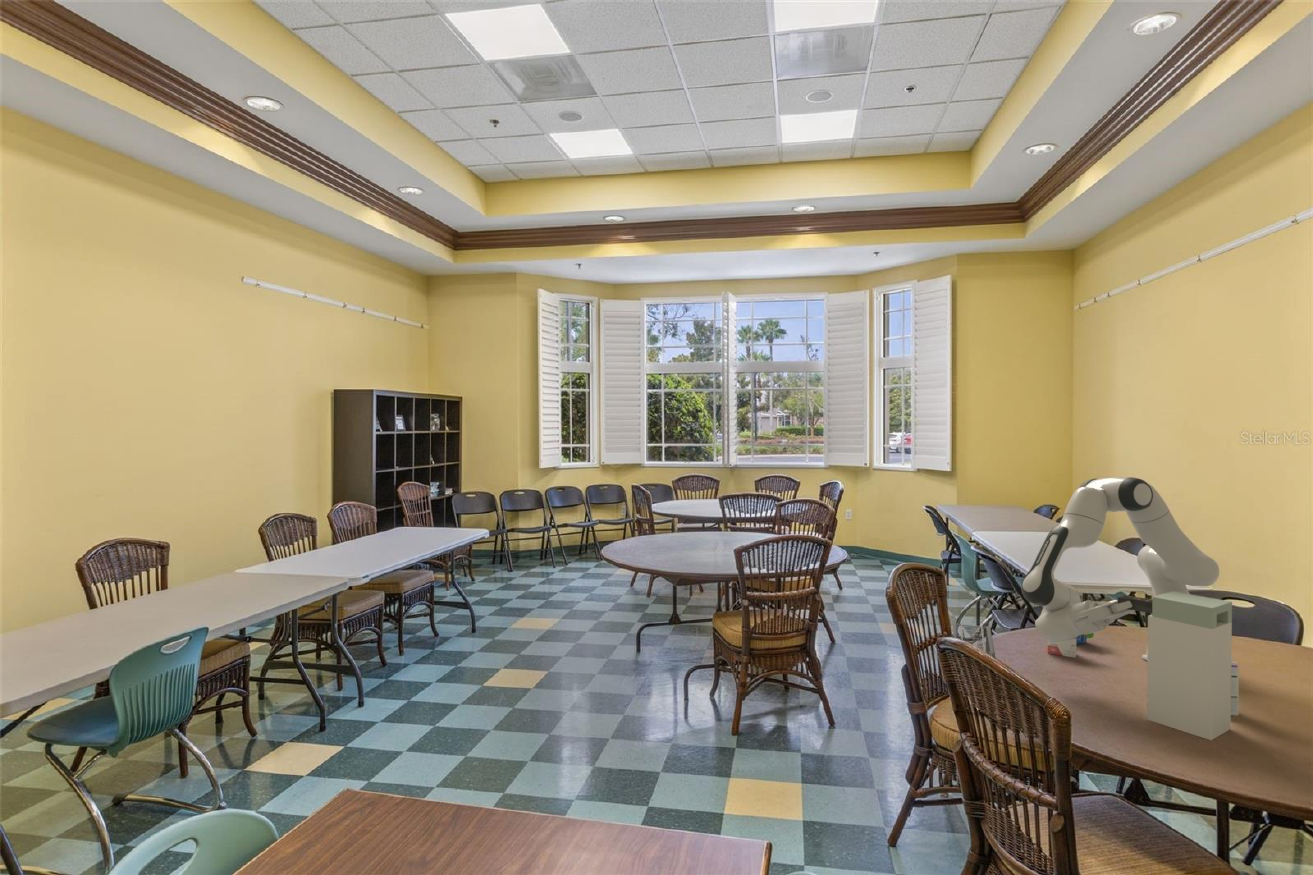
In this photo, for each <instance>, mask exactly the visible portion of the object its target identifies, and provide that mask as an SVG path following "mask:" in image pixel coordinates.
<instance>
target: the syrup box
mask: <svg viewBox="0 0 1313 875" xmlns="http://www.w3.org/2000/svg"><path fill="white" fill-rule="evenodd" d="M1239 675H1240V673H1239V663H1238V662H1236V661H1235V660H1232V659H1231V716H1239V715H1240V711H1239V710H1240V709H1239V708H1240V707H1239V705H1240V704H1239V703H1240V702H1239V701H1240V700H1239V699H1240V698H1239V696H1240V694H1239V693H1240V692H1239V691H1240V689H1239V688H1240V686H1239V684H1240V683H1239V677H1240V676H1239Z"/></svg>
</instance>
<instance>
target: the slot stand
mask: <svg viewBox="0 0 1313 875" xmlns="http://www.w3.org/2000/svg"><path fill="white" fill-rule="evenodd" d="M1151 599H1152V613H1151V614H1150V615H1147V645H1148V659H1147V660H1146V661H1147V666H1146V667H1147V668H1146V670H1147V675H1146V676H1147V677H1146V680H1147V681H1146V682H1147V683H1146V684H1147V686H1146V688H1147V689H1146V720H1148V721H1151V722H1153V723H1156V724H1160V725H1163V726H1165V727H1168V728H1172V729H1174V728H1175V730H1179V731H1180V732H1184V733H1187V734H1191V735H1193V736H1196V737H1199V738H1203V739H1206V740H1209V741H1213V740H1214V739H1216V738H1218V737H1220V736H1221V735H1223V734H1225V733H1226V732H1228V731H1230V730H1231V723H1232V722H1231V721H1232V720H1231V717H1232V715H1231V660H1232V641H1233V640H1232V639H1233V638H1232V636H1233V635H1232V632H1233V630H1232V629H1233V628H1232V627H1233V622H1232V621H1233V601H1229V600H1224V599H1218V598H1213V597H1208V596H1202V595H1196V594H1192V593H1190V594H1186V593H1180V592H1174V591H1172V592H1168V593H1165V594H1161V595H1157V596H1154V595H1153V596H1152V598H1151Z"/></svg>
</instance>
